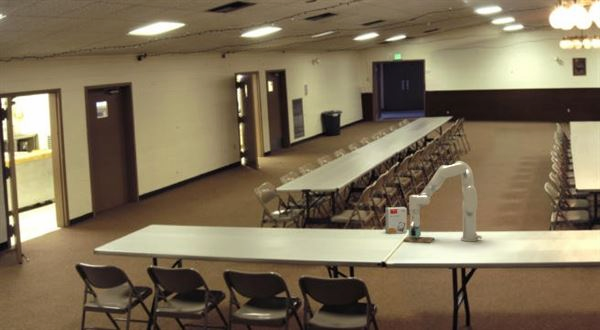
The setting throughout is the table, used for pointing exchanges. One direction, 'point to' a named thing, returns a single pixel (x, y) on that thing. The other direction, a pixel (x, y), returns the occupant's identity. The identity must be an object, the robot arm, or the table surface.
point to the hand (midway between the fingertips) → (414, 234)
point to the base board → (419, 239)
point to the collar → (418, 232)
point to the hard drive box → (396, 220)
